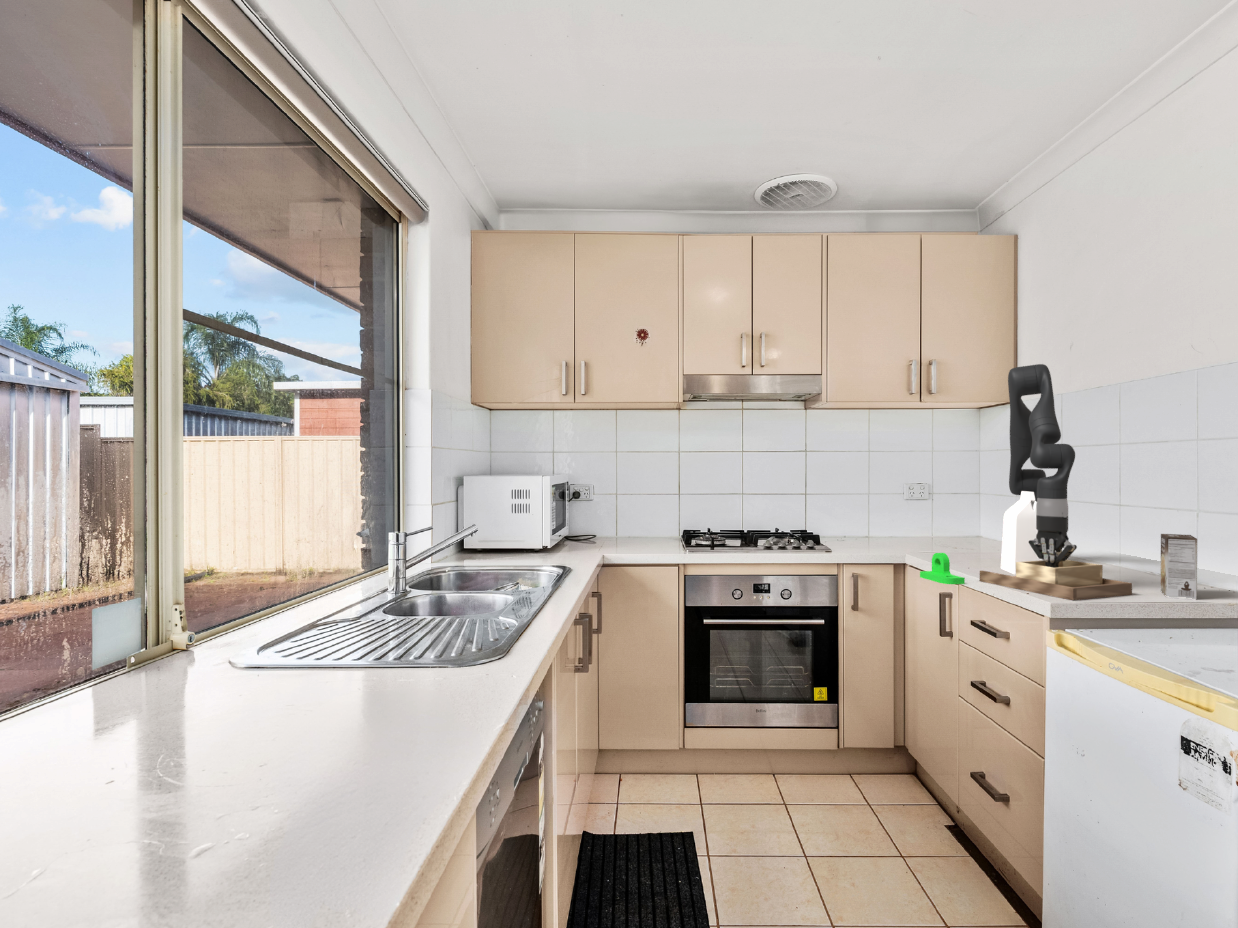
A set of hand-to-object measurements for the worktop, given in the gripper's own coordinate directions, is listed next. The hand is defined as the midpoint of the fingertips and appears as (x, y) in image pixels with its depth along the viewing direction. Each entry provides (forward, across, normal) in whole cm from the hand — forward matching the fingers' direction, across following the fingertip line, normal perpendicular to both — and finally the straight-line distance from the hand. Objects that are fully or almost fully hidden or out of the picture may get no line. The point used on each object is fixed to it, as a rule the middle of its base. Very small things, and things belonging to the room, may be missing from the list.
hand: (1051, 575), depth 181 cm
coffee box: (+4, +19, +21) cm, 28 cm away
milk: (+4, -21, +17) cm, 27 cm away
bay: (+3, 0, 0) cm, 3 cm away
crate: (+2, -4, 0) cm, 5 cm away
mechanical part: (+4, -19, -21) cm, 28 cm away
